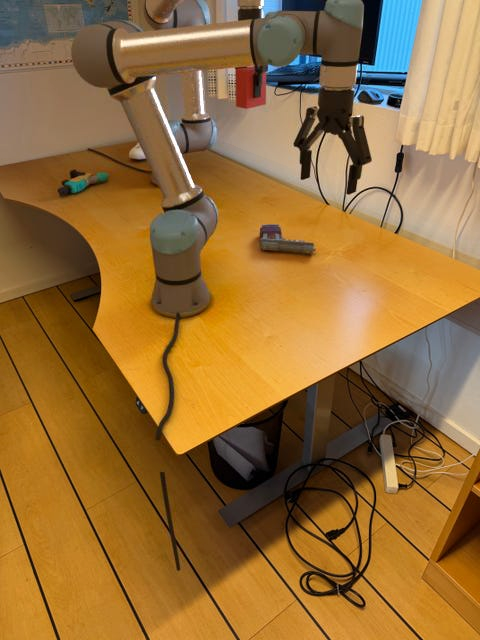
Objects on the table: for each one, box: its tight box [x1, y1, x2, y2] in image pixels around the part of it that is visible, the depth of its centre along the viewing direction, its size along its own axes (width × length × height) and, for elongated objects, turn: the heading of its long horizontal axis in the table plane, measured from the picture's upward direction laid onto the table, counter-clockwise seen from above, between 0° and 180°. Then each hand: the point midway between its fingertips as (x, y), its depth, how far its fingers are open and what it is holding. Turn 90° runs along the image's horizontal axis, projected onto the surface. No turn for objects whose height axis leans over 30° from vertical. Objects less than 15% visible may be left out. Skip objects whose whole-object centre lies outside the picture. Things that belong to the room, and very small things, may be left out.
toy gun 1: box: [57, 168, 110, 197], centre depth 194 cm, size 4×26×15 cm
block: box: [234, 66, 267, 110], centre depth 148 cm, size 5×9×11 cm, turn 134°
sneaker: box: [128, 142, 147, 161], centre depth 226 cm, size 10×29×12 cm, turn 163°
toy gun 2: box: [259, 223, 317, 255], centre depth 150 cm, size 4×19×15 cm
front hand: (327, 185), depth 112 cm, fingers open, 13 cm apart
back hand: (250, 96), depth 150 cm, fingers closed on block, 5 cm apart
